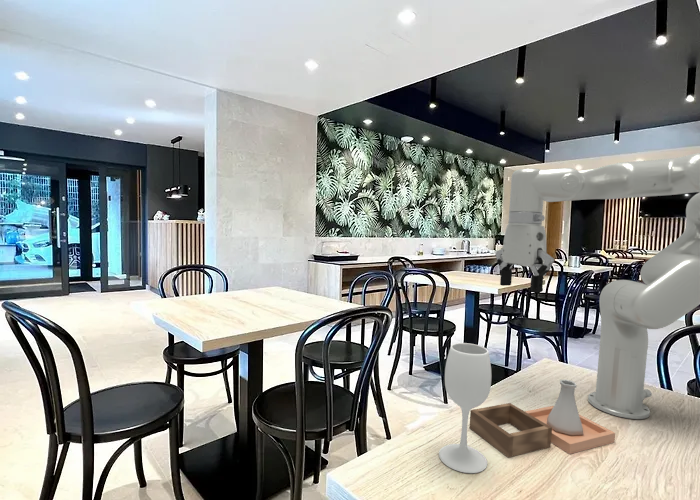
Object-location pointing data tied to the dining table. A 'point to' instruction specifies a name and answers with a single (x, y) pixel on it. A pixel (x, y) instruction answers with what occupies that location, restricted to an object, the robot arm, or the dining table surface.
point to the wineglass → (466, 400)
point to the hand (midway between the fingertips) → (520, 288)
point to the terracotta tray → (576, 443)
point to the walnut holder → (513, 444)
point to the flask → (566, 411)
